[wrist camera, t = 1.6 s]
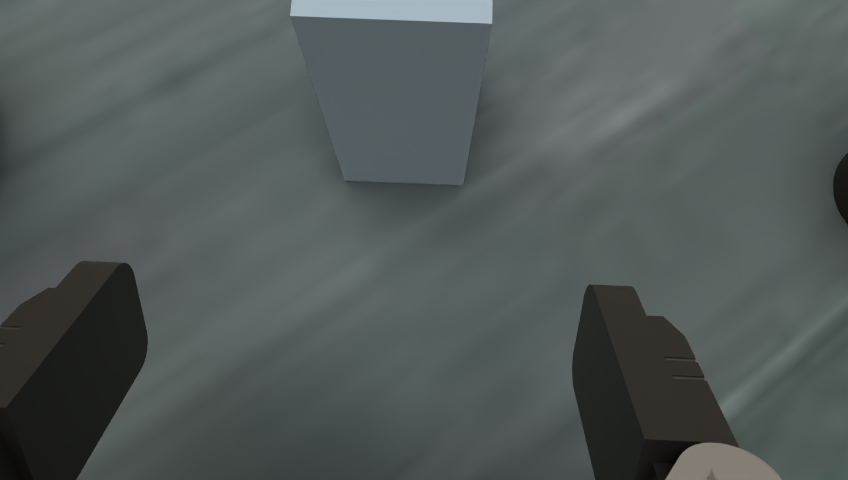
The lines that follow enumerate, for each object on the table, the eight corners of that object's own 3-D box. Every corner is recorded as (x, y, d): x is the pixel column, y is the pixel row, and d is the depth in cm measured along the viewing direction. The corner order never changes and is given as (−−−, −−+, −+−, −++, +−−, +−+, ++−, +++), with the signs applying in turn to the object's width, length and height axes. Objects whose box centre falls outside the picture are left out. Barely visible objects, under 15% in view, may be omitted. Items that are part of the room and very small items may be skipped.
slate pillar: (344, 180, 28) (290, 15, 17) (352, 73, 29) (307, -150, 18) (462, 185, 28) (491, 23, 16) (466, 77, 29) (495, -143, 18)
